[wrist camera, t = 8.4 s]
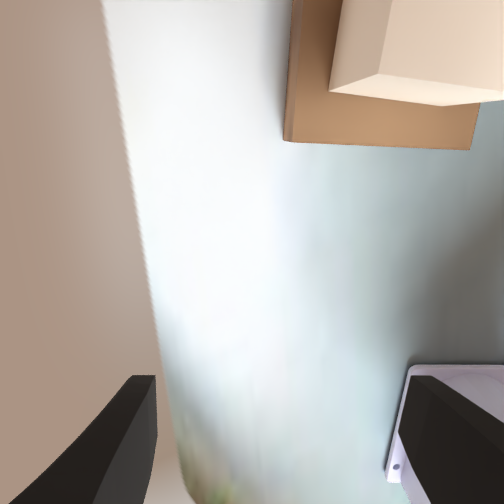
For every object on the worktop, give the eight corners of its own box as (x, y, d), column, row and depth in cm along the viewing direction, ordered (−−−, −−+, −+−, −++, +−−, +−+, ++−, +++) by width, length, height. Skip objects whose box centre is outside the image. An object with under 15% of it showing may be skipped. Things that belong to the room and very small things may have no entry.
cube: (441, 106, 15) (538, 96, 11) (328, 91, 15) (377, 73, 10) (477, -34, 14) (609, -117, 9) (352, -57, 13) (423, -157, 9)
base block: (433, 146, 19) (469, 150, 16) (281, 139, 18) (292, 142, 15) (469, -37, 16) (520, -72, 14) (294, -53, 16) (310, -92, 13)
